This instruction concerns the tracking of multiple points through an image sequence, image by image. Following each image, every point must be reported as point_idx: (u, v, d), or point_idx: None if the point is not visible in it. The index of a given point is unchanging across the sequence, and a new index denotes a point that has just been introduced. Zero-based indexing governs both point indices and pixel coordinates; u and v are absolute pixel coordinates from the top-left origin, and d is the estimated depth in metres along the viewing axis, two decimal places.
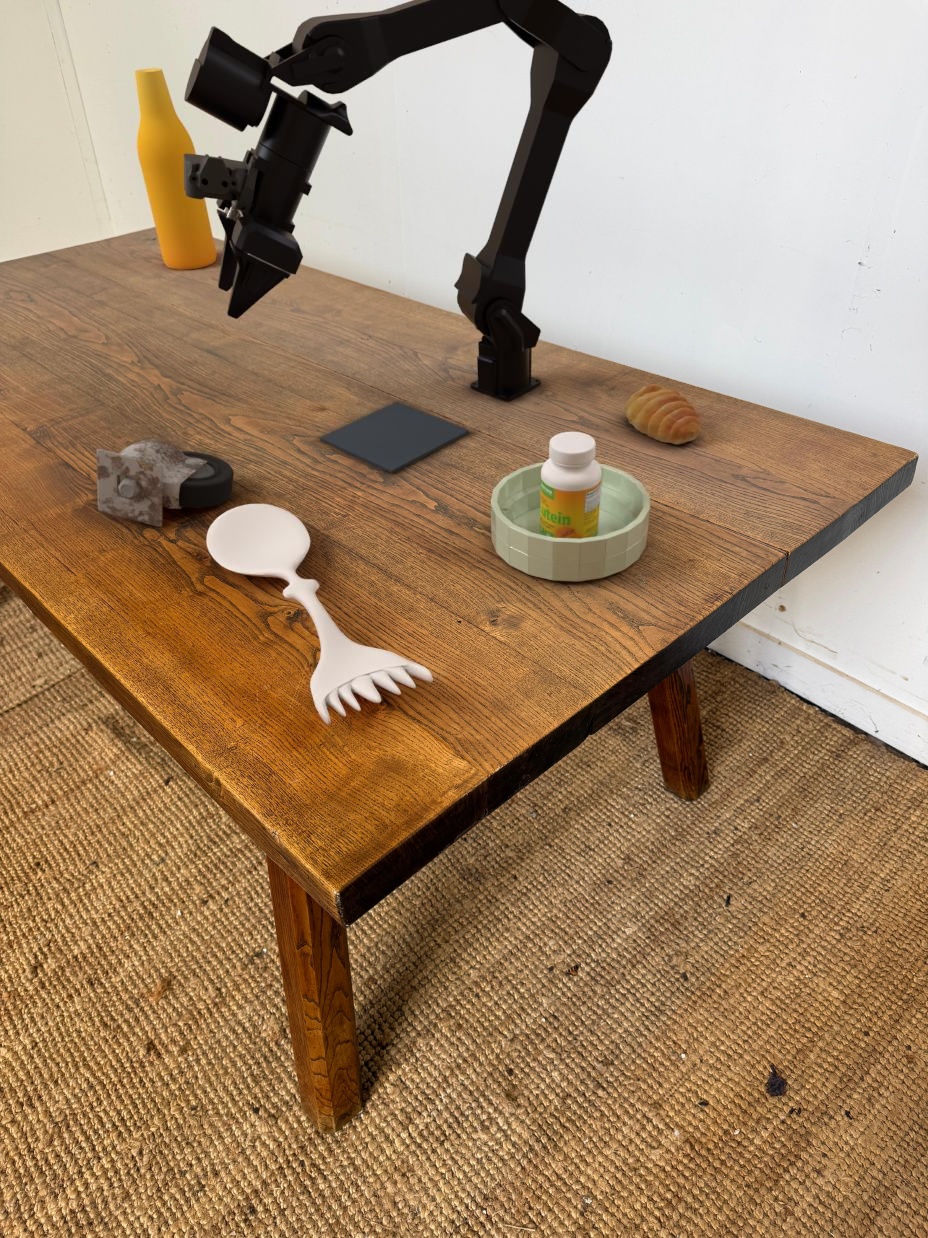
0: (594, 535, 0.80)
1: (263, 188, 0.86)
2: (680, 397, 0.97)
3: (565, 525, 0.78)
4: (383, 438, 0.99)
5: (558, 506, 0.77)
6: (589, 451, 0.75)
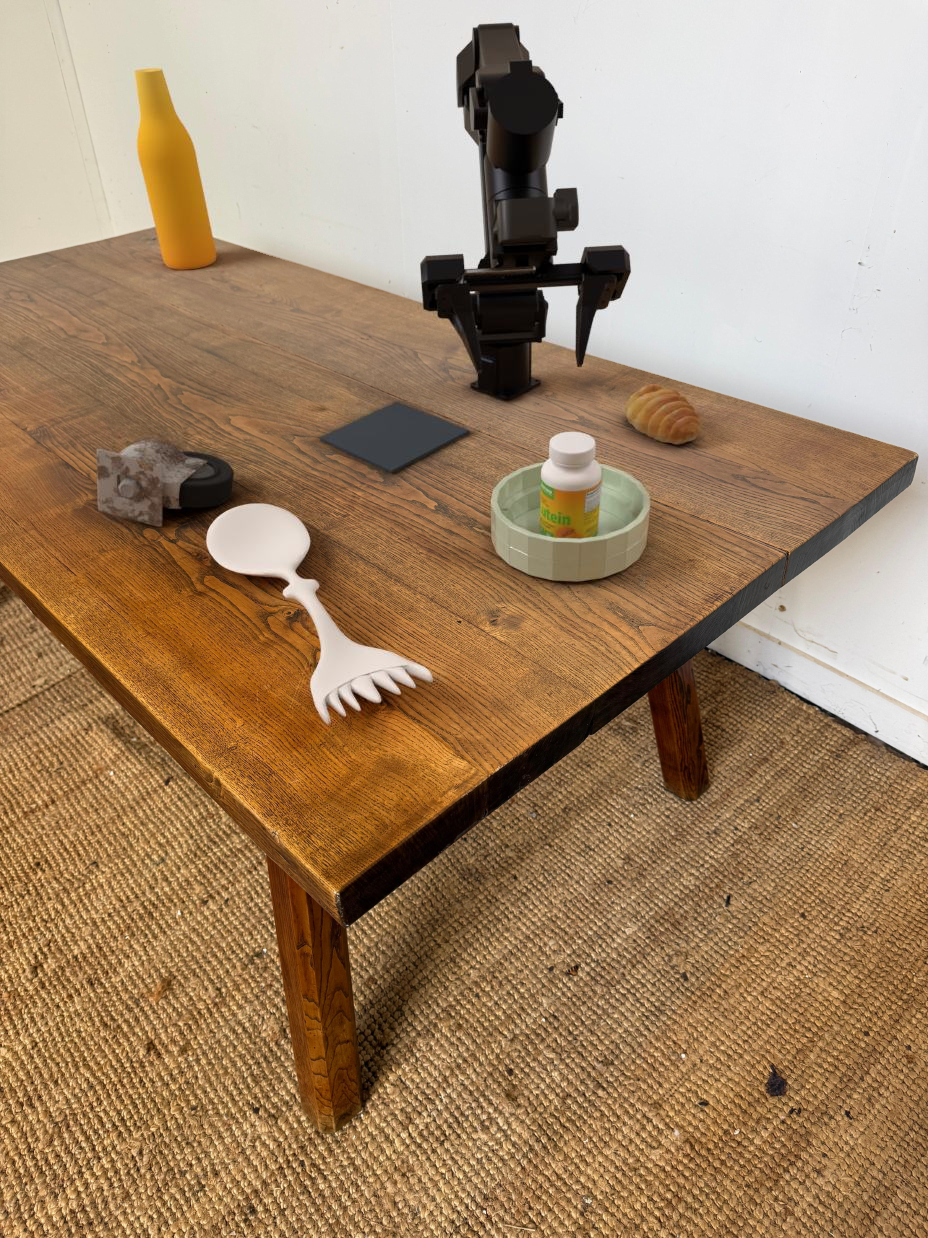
0: (594, 535, 0.80)
1: None
2: (680, 397, 0.97)
3: (565, 525, 0.78)
4: (383, 438, 0.99)
5: (558, 506, 0.77)
6: (589, 451, 0.75)
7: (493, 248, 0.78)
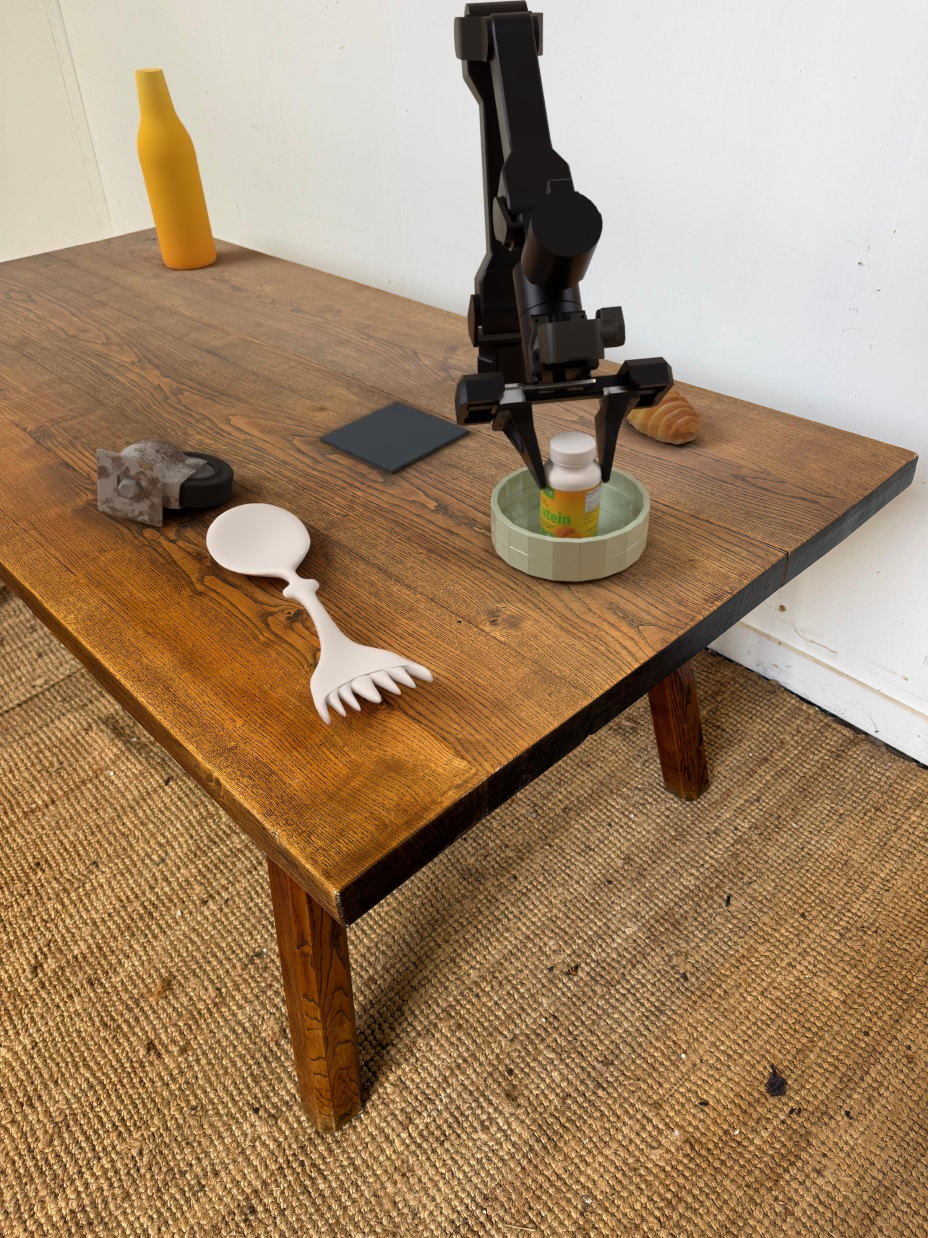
0: (594, 535, 0.80)
1: None
2: (680, 397, 0.97)
3: (565, 525, 0.78)
4: (383, 438, 0.99)
5: (558, 506, 0.77)
6: (589, 451, 0.75)
7: (533, 366, 0.75)
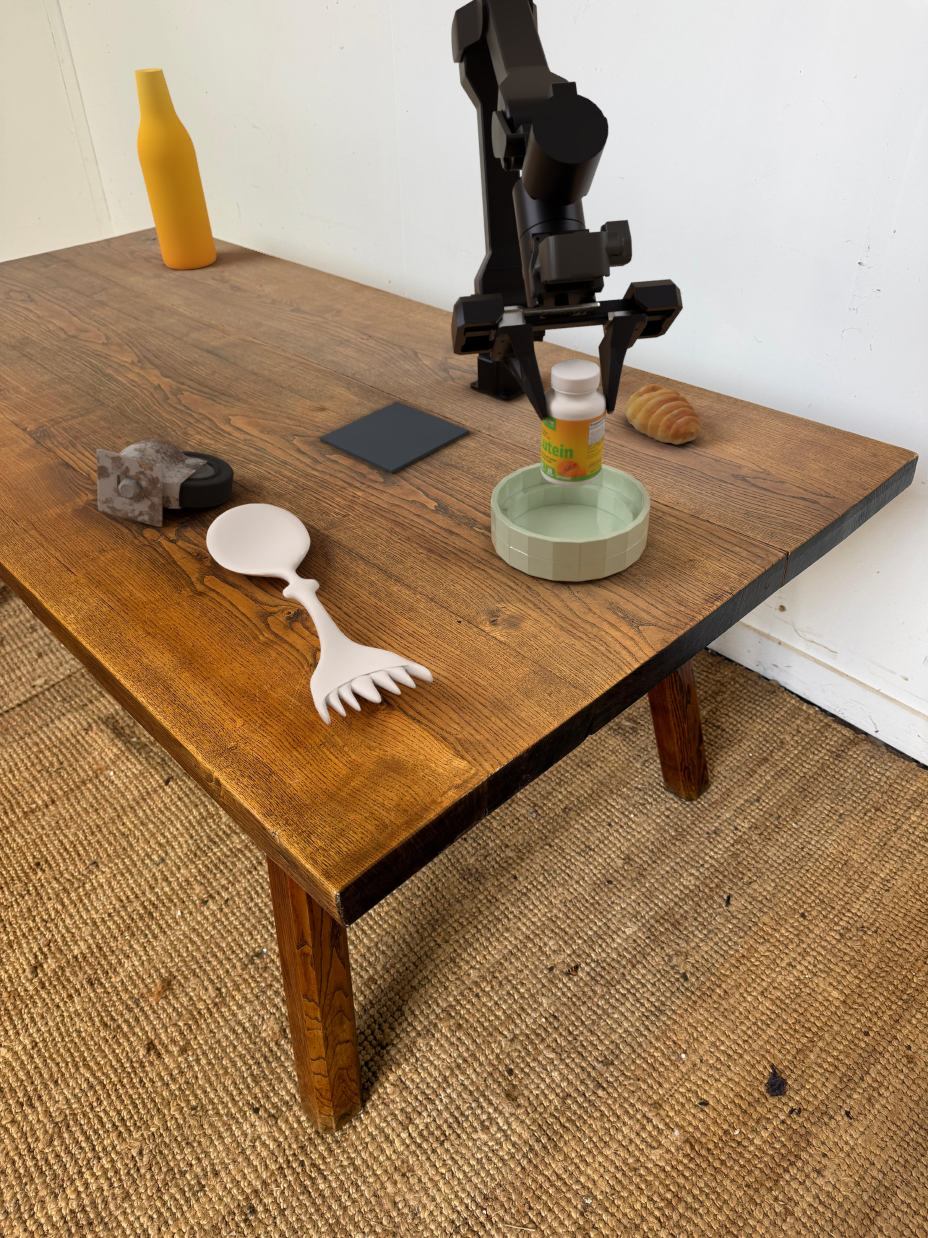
0: (598, 470, 0.76)
1: None
2: (680, 397, 0.97)
3: (567, 459, 0.74)
4: (383, 438, 0.99)
5: (560, 438, 0.73)
6: (593, 378, 0.71)
7: (534, 287, 0.71)
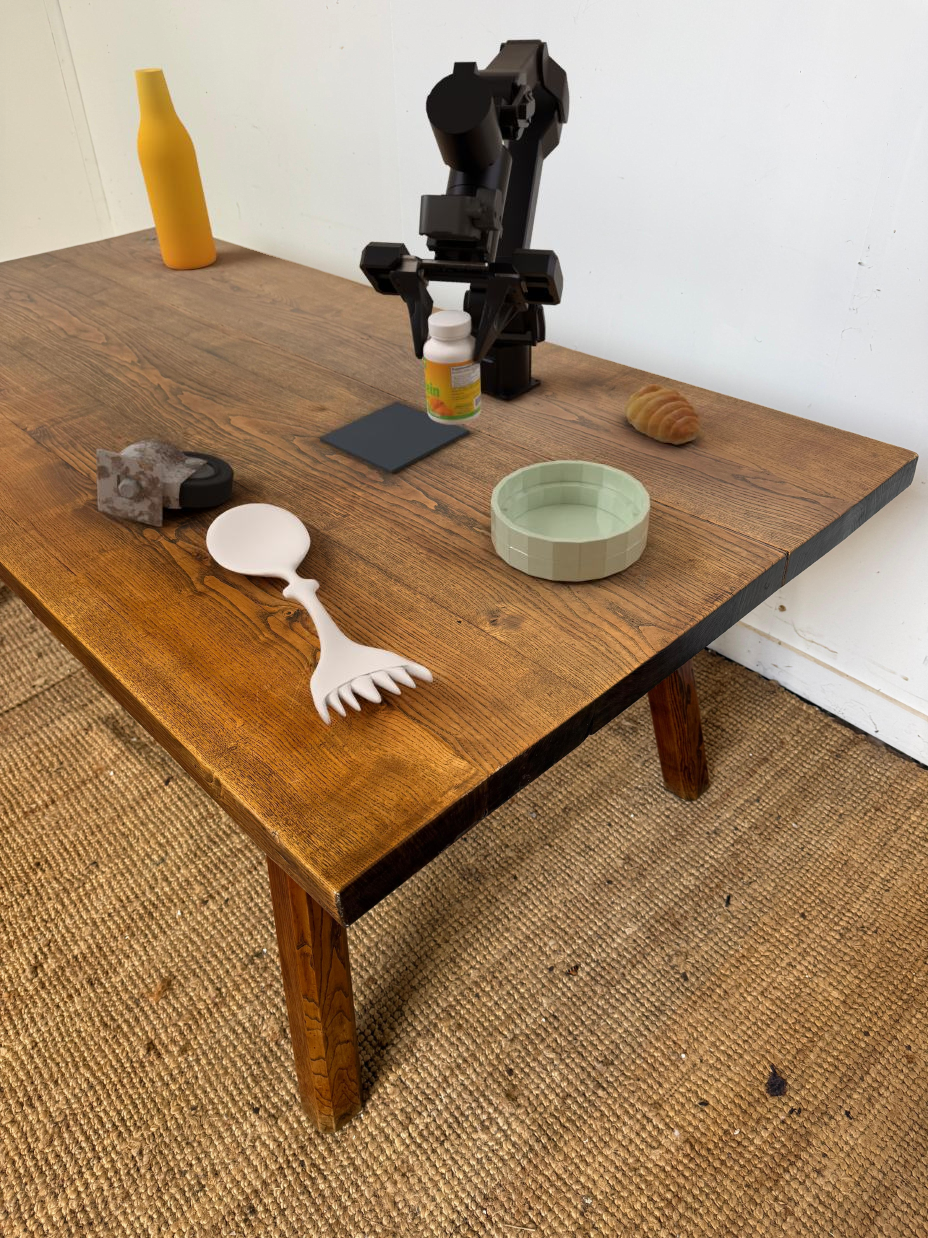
0: (468, 414, 0.85)
1: None
2: (680, 397, 0.97)
3: (435, 397, 0.84)
4: (383, 438, 0.99)
5: (429, 376, 0.83)
6: (455, 327, 0.80)
7: (427, 240, 0.81)
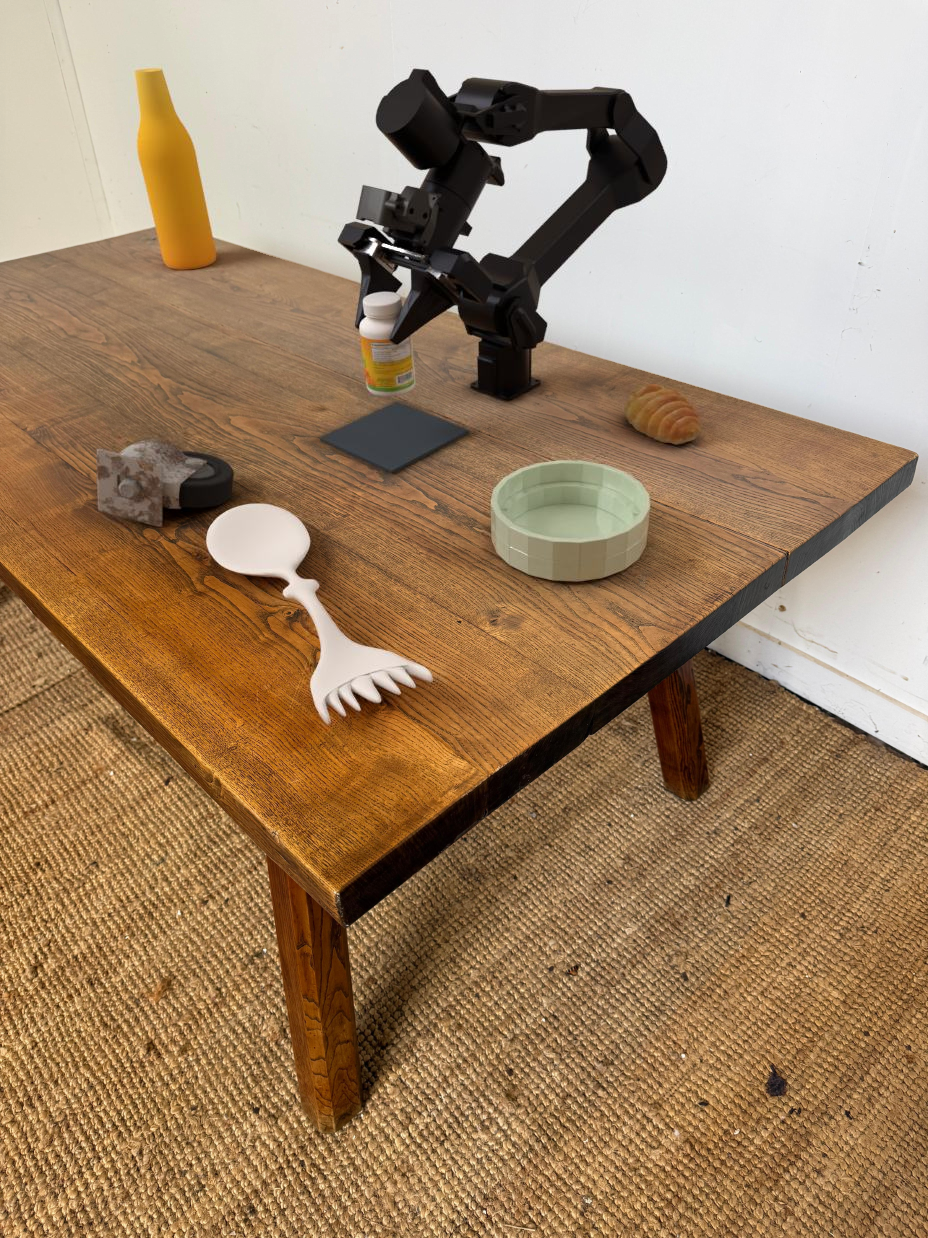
0: (389, 389, 0.94)
1: (440, 224, 0.88)
2: (680, 397, 0.97)
3: (364, 367, 0.94)
4: (383, 438, 0.99)
5: None
6: (376, 307, 0.89)
7: (384, 227, 0.90)
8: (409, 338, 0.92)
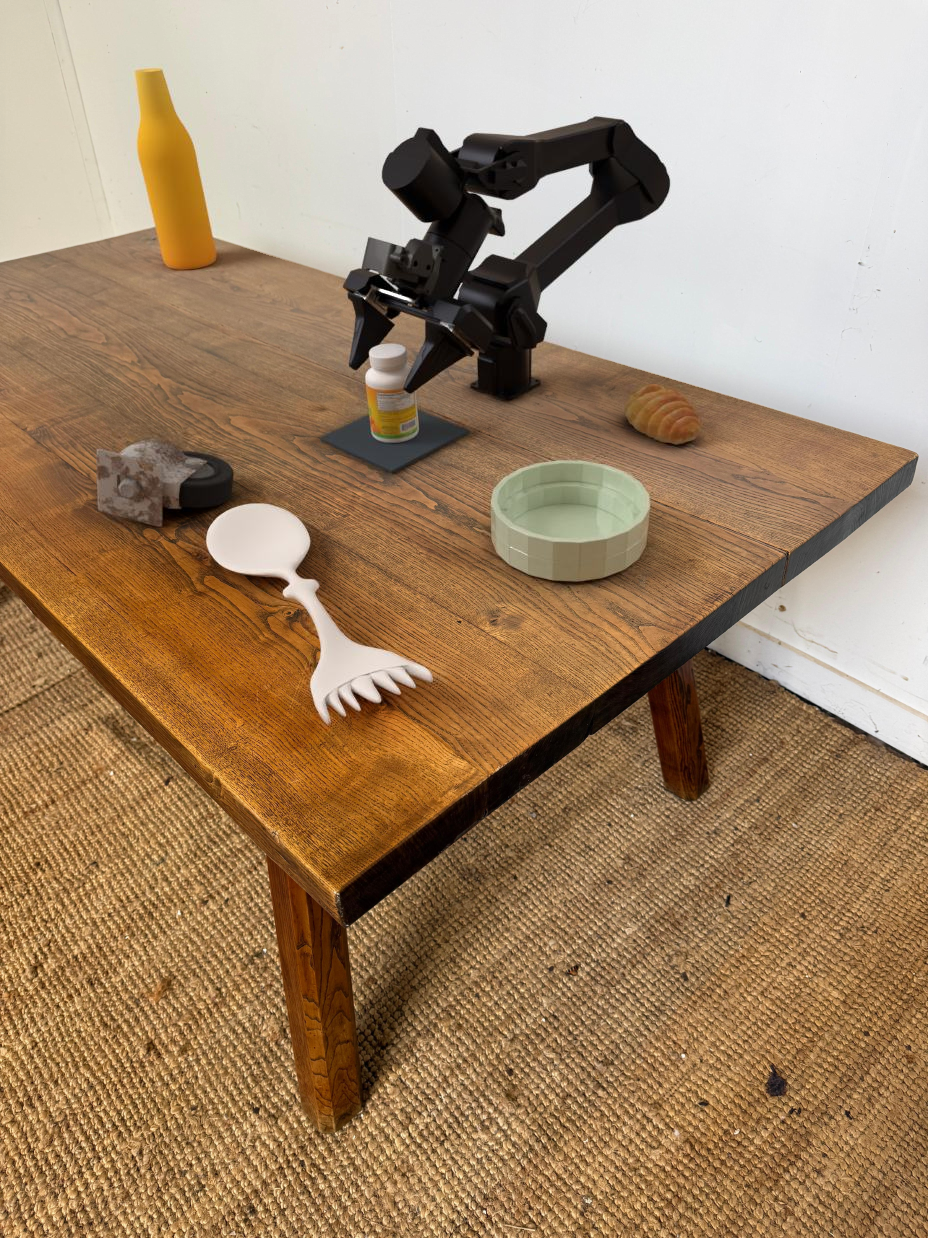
0: (393, 436, 0.97)
1: (442, 275, 0.91)
2: (680, 397, 0.97)
3: (370, 414, 0.97)
4: None
5: (367, 396, 0.97)
6: (382, 359, 0.92)
7: None
8: None
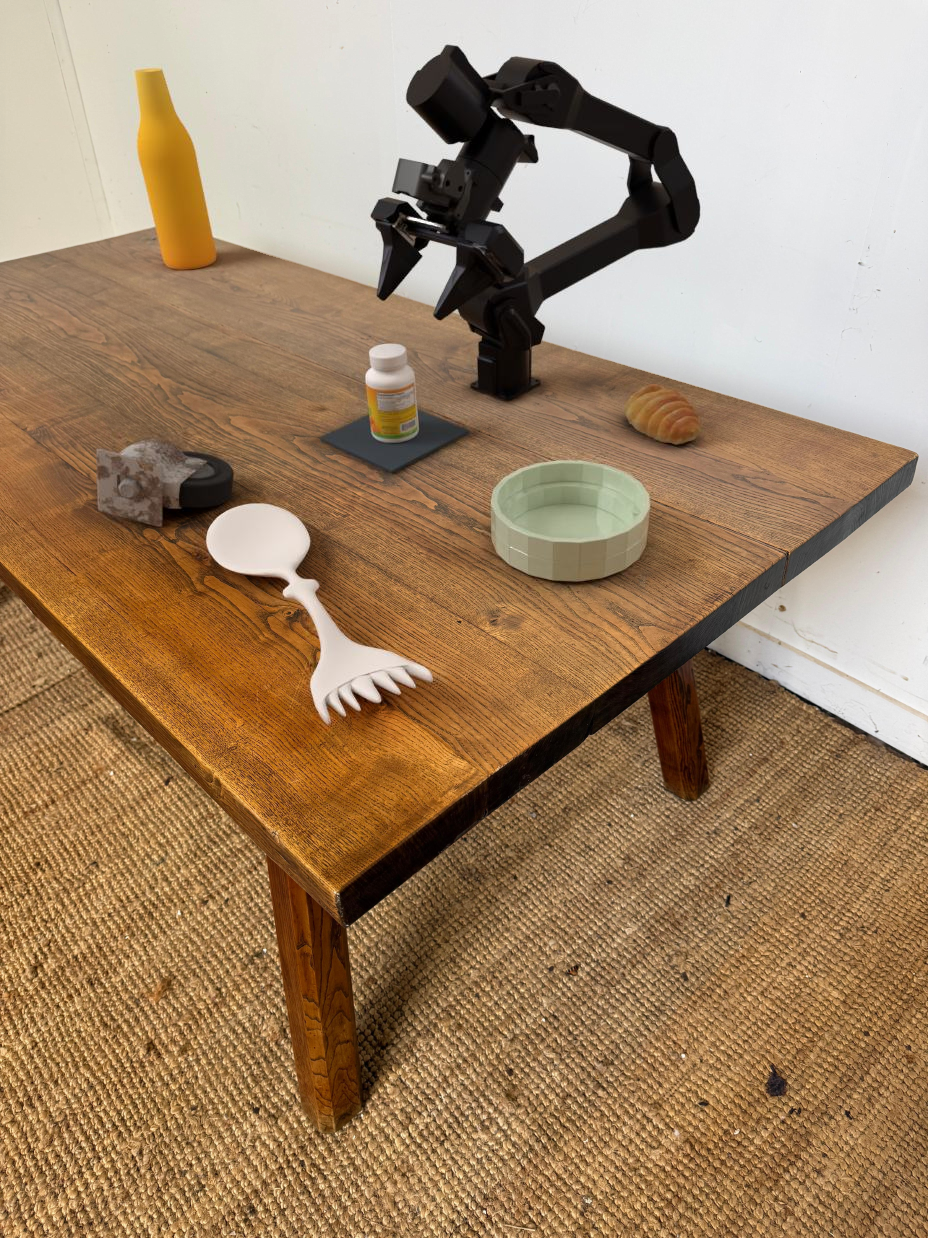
0: (393, 436, 0.97)
1: (473, 199, 0.90)
2: (680, 397, 0.97)
3: (370, 414, 0.97)
4: None
5: (367, 396, 0.97)
6: (382, 359, 0.92)
7: (417, 201, 0.92)
8: (413, 388, 0.95)
